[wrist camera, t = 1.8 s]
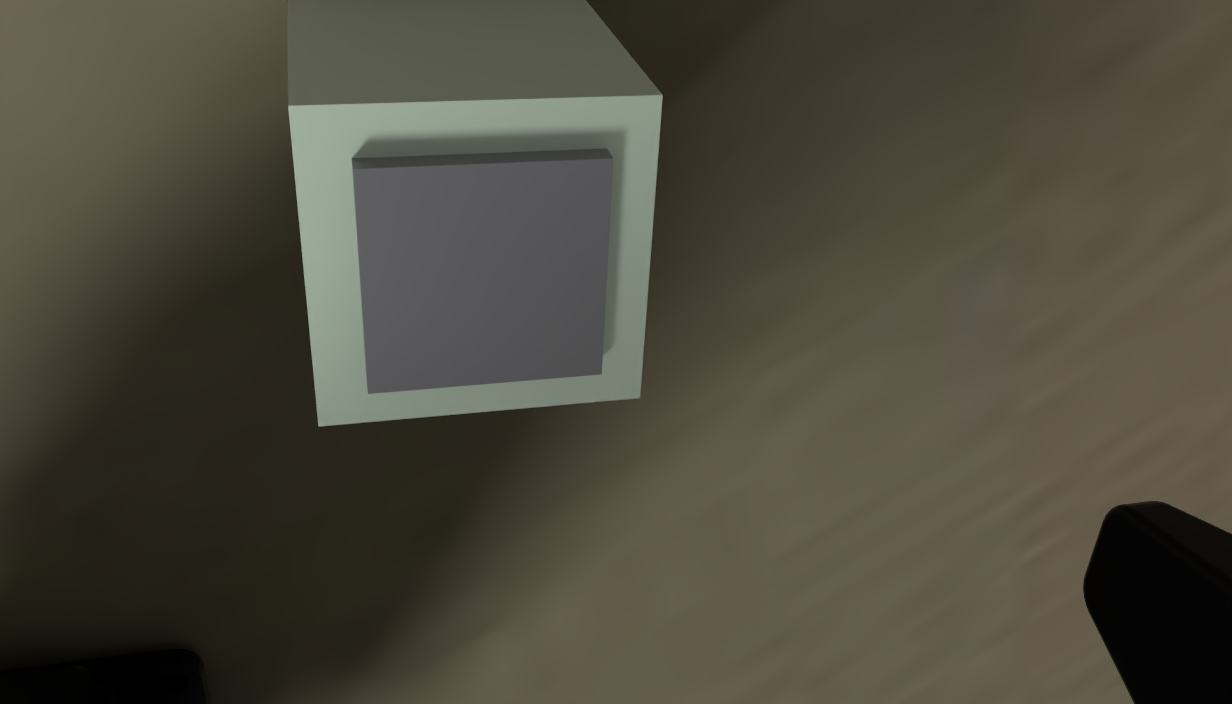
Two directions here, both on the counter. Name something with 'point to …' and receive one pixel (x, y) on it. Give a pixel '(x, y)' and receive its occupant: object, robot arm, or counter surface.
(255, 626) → the counter surface
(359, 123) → the plug
